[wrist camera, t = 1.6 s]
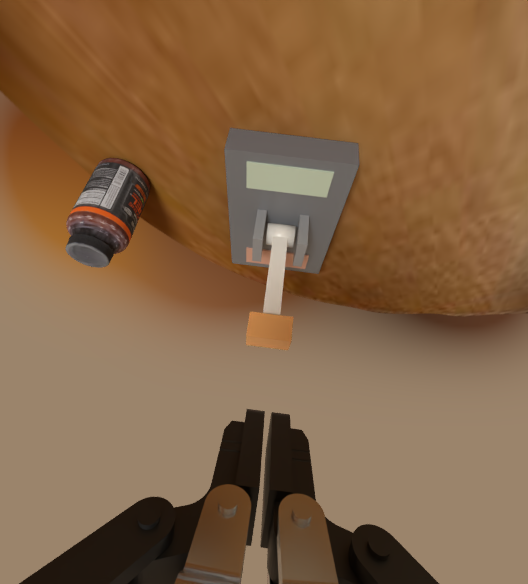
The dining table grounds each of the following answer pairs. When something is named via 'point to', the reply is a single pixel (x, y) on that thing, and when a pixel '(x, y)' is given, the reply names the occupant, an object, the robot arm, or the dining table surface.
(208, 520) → the robot arm
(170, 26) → the dining table surface
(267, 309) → the breaker lever
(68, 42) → the dining table surface
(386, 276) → the dining table surface
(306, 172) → the switch block
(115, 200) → the supplement bottle
